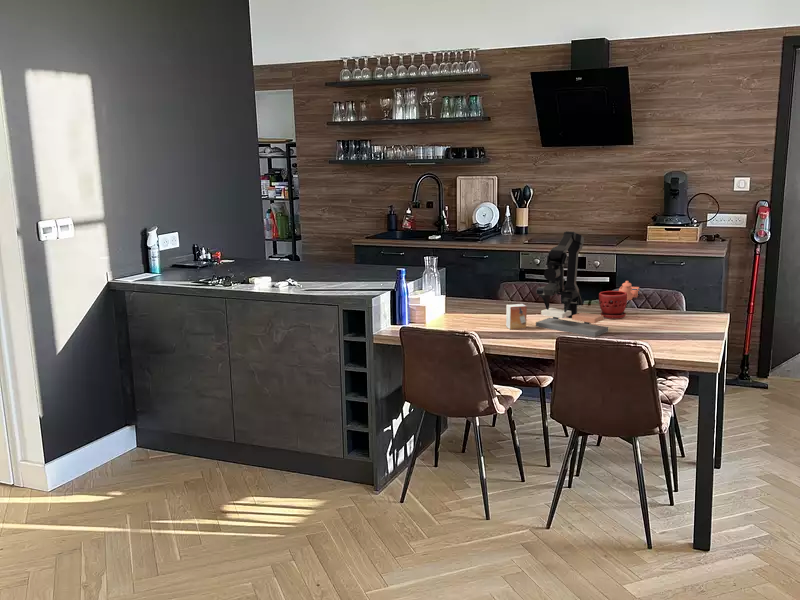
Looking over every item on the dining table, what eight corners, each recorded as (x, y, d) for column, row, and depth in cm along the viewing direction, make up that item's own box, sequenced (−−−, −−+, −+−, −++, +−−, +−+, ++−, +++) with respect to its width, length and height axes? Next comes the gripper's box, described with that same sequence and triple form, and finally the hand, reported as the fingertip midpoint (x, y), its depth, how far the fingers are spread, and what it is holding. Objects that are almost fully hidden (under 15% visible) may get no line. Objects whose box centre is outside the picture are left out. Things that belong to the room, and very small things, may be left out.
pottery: (621, 293, 435) (621, 275, 433) (638, 294, 431) (639, 276, 429) (616, 299, 418) (616, 281, 416) (634, 300, 415) (635, 282, 413)
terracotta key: (581, 319, 357) (581, 312, 356) (603, 323, 350) (603, 315, 349) (571, 323, 351) (572, 315, 351) (594, 326, 344) (594, 318, 343)
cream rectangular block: (550, 315, 368) (550, 307, 367) (571, 318, 360) (571, 310, 360) (541, 318, 362) (541, 310, 361) (562, 321, 355) (562, 313, 354)
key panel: (549, 321, 371) (549, 317, 370) (608, 331, 351) (608, 327, 351) (535, 326, 362) (535, 322, 362) (594, 336, 342) (595, 332, 342)
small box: (509, 329, 358) (510, 306, 355) (505, 326, 363) (506, 304, 361) (526, 328, 359) (527, 305, 357) (522, 325, 364) (522, 303, 362)
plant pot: (622, 313, 385) (623, 289, 382) (629, 320, 372) (630, 295, 369) (595, 314, 385) (596, 290, 383) (601, 320, 372) (602, 295, 370)
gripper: (529, 277, 358) (529, 311, 361) (566, 281, 345) (565, 316, 348) (543, 274, 366) (542, 307, 369) (578, 278, 353) (577, 312, 356)
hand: (556, 310), depth 360 cm, fingers open, 9 cm apart
